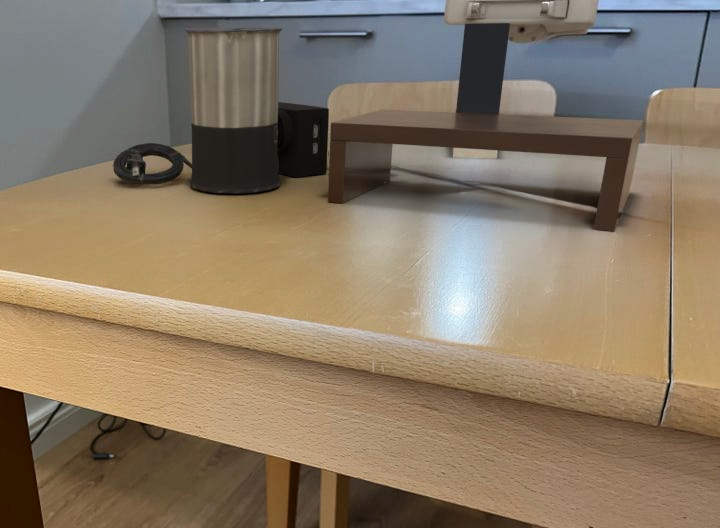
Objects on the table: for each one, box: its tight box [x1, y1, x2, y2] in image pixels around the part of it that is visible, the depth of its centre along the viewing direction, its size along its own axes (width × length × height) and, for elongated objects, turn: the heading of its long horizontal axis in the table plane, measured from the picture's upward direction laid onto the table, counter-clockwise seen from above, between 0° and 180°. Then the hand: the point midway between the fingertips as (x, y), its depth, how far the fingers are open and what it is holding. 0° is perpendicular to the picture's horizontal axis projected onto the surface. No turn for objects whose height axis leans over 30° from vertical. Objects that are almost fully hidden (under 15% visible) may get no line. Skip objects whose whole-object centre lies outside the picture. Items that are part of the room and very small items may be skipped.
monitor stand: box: [327, 109, 644, 232], centre depth 67 cm, size 13×24×7 cm, turn 61°
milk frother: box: [112, 26, 283, 195], centre depth 74 cm, size 14×16×15 cm
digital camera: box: [277, 101, 330, 178], centre depth 84 cm, size 10×5×7 cm, turn 31°
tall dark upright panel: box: [452, 23, 510, 159], centre depth 90 cm, size 11×5×15 cm, turn 166°
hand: (508, 9), depth 99 cm, fingers open, 8 cm apart
